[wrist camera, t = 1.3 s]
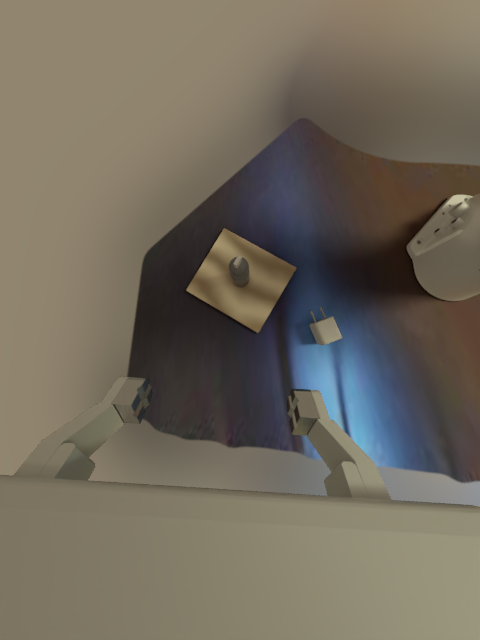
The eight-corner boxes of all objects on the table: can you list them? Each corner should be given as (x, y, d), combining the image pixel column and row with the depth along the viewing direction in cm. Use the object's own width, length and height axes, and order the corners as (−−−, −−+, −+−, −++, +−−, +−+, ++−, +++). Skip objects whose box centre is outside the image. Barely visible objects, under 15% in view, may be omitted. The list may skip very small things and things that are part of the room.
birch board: (224, 230, 42) (224, 228, 41) (295, 269, 40) (296, 267, 39) (187, 291, 41) (185, 290, 40) (257, 333, 40) (258, 333, 39)
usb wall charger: (316, 344, 39) (323, 345, 35) (303, 313, 40) (309, 311, 36) (334, 337, 39) (343, 337, 35) (320, 306, 40) (328, 303, 36)
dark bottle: (237, 267, 40) (233, 245, 30) (252, 276, 40) (253, 255, 30) (229, 282, 40) (222, 264, 30) (243, 290, 40) (241, 275, 29)
